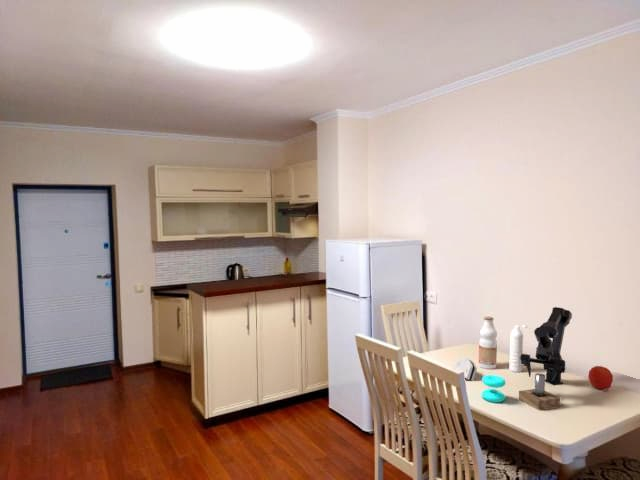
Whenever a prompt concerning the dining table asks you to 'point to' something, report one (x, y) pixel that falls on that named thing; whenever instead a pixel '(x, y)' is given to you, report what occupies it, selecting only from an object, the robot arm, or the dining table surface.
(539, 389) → the steel pin
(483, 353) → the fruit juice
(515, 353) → the water bottle
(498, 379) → the donuts
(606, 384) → the apple
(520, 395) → the block
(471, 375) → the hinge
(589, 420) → the dining table surface
